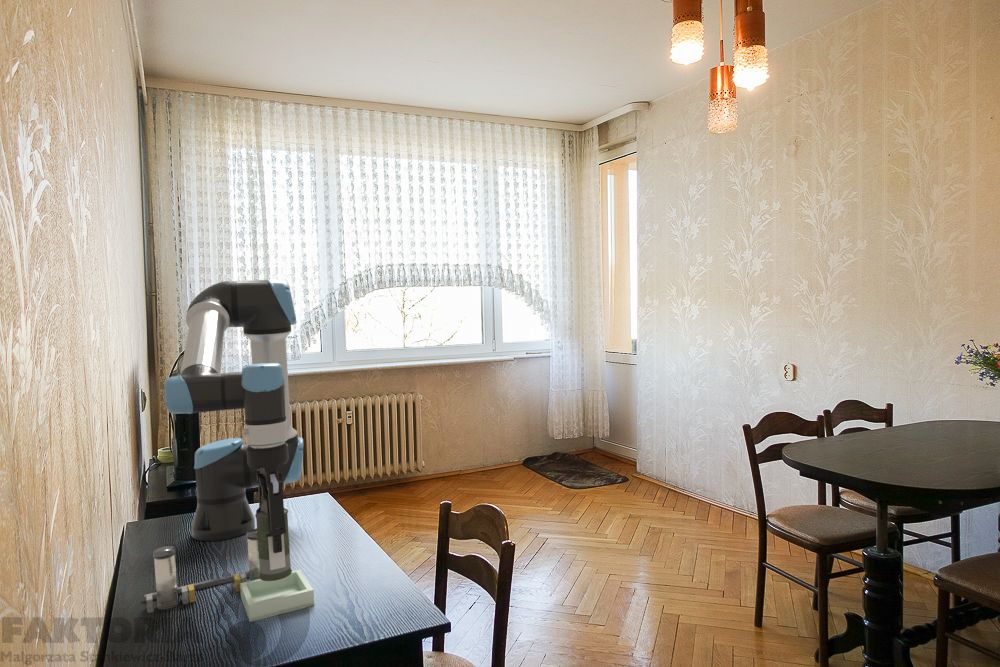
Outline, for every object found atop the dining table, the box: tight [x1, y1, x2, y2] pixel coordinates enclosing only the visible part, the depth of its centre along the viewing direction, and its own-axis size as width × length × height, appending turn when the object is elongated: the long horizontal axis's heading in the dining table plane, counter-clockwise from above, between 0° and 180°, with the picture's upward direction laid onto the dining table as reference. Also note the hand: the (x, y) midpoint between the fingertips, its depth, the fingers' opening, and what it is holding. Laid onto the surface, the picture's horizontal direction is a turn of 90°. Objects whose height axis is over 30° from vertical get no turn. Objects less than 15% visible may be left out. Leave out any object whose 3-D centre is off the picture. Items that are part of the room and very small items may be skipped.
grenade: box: [254, 499, 293, 581], centre depth 125 cm, size 6×6×15 cm
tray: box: [240, 568, 315, 623], centre depth 126 cm, size 12×12×3 cm
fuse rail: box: [143, 528, 260, 614], centre depth 132 cm, size 7×25×11 cm, turn 119°
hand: (274, 561), depth 125 cm, fingers closed on grenade, 6 cm apart
